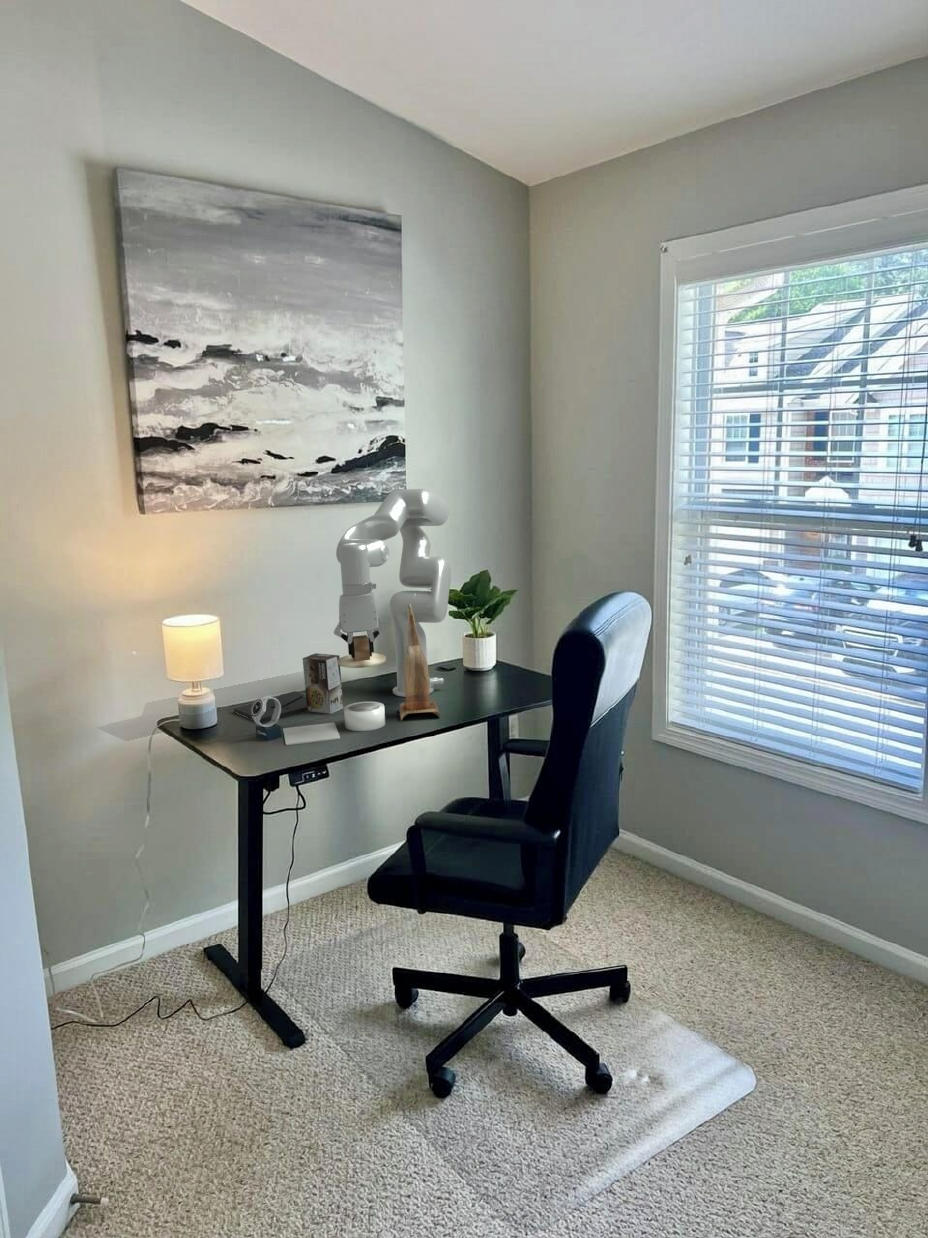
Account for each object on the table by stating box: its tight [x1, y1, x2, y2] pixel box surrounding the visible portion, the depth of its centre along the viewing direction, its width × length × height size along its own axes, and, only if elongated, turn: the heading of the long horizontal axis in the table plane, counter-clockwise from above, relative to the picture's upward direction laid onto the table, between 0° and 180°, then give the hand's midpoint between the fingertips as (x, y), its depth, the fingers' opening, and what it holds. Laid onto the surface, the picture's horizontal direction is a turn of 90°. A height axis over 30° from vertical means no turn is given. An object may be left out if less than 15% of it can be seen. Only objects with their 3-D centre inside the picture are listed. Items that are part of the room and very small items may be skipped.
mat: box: [282, 722, 341, 746], centre depth 238 cm, size 14×14×1 cm
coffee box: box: [302, 653, 344, 715], centre depth 259 cm, size 9×6×16 cm
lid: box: [338, 634, 387, 669], centre depth 241 cm, size 13×13×7 cm
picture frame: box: [233, 690, 309, 724], centre depth 262 cm, size 16×3×21 cm
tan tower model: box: [398, 604, 441, 721], centre depth 250 cm, size 11×12×32 cm
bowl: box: [343, 701, 386, 732], centre depth 244 cm, size 11×11×5 cm
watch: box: [251, 695, 283, 742], centre depth 237 cm, size 6×8×11 cm
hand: (361, 655), depth 241 cm, fingers closed on lid, 4 cm apart
